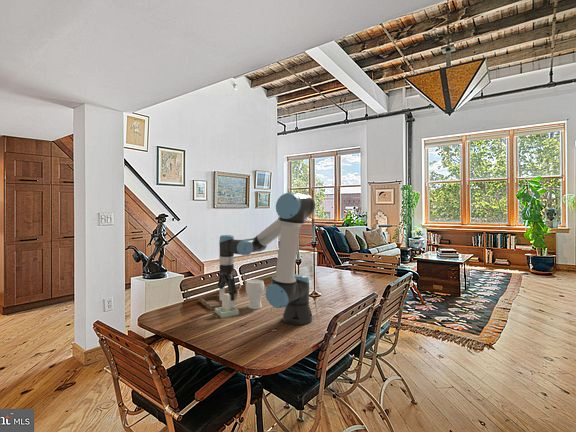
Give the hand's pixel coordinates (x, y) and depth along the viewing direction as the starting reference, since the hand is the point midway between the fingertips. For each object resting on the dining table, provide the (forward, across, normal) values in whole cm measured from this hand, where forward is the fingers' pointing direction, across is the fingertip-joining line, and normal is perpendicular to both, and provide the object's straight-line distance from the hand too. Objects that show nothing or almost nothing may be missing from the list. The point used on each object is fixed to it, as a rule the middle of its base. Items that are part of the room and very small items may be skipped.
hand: (226, 303), depth 181 cm
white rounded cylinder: (+5, 0, 0) cm, 5 cm away
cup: (+6, +2, -18) cm, 19 cm away
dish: (+6, 0, 0) cm, 6 cm away
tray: (+6, +18, 0) cm, 19 cm away
